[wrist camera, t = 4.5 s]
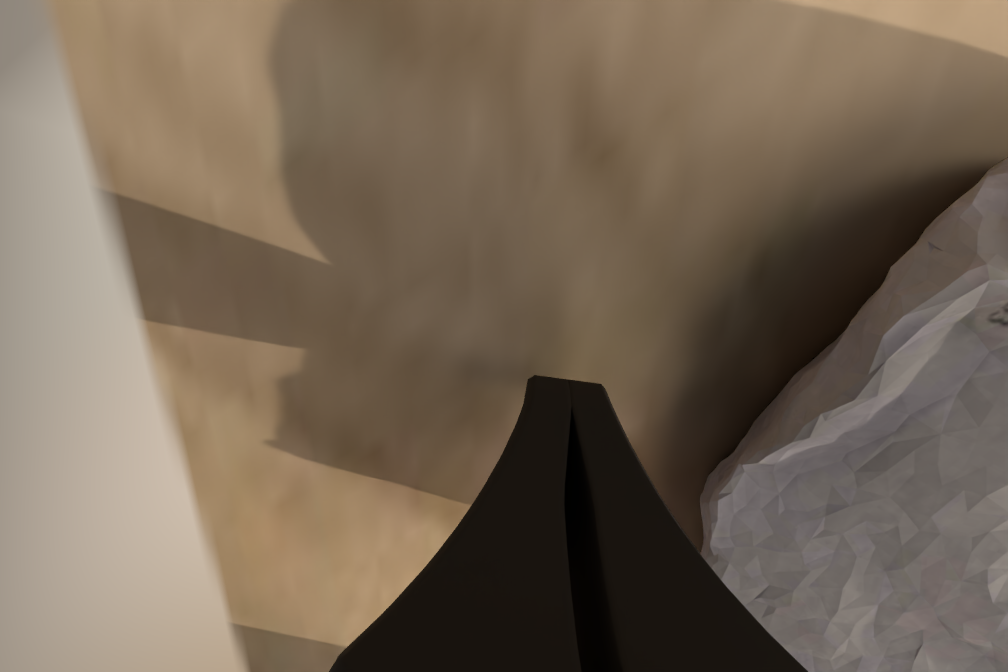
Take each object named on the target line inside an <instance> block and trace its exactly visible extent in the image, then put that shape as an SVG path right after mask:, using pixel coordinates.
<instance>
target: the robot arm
mask: <svg viewBox="0 0 1008 672" xmlns="http://www.w3.org/2000/svg"><path fill="white" fill-rule="evenodd" d="M329 672H808V671H807V670H806V669H805V668H804V667H803V666H802V665H801V664H800V663H799V662H798V661H797V660H796V659H795V658H794V657H793V656H792V655H791V654H790V653H789V652H788V651H787V650H786V649H785V648H784V647H783V646H782V645H781V644H780V643H779V642H778V641H777V640H776V639H774V638H773V637H772V636H771V635H770V634H769V633H768V632H767V630H766V629H765V628H764V627H763V626H762V625H761V624H760V623H759V622H758V621H757V620H756V619H755V617H754V616H753V615H752V614H751V613H750V612H749V611H748V610H747V609H746V607H745V606H744V605H743V604H742V603H741V602H740V601H739V600H738V599H737V598H736V596H735V595H734V594H733V593H732V592H731V591H730V590H729V589H728V588H727V587H726V585H725V584H724V583H723V582H722V580H721V579H720V578H719V577H718V576H717V574H716V573H715V572H714V571H713V569H712V568H711V567H710V566H709V564H708V563H707V562H706V561H705V559H704V558H703V557H702V555H701V554H700V553H699V551H698V550H697V549H696V547H695V546H694V545H693V543H692V542H691V541H690V539H689V538H688V537H687V535H686V534H685V532H684V531H683V530H682V528H681V527H680V525H679V524H678V522H677V521H676V519H675V518H674V516H673V515H672V513H671V512H670V510H669V509H668V507H667V506H666V504H665V503H664V501H663V499H662V498H661V496H660V495H659V493H658V492H657V490H656V488H655V487H654V485H653V483H652V482H651V480H650V478H649V476H648V475H647V473H646V471H645V469H644V467H643V466H642V464H641V462H640V460H639V459H638V457H637V455H636V453H635V451H634V449H633V448H632V446H631V444H630V442H629V440H628V438H627V436H626V434H625V432H624V430H623V428H622V426H621V424H620V422H619V419H618V417H617V415H616V413H615V411H614V408H613V406H612V404H611V401H610V399H609V397H608V394H607V392H606V390H605V388H604V387H603V386H602V384H597V383H590V382H582V381H575V380H567V379H560V378H552V377H545V376H537V375H534V376H533V377H531V378H529V379H528V381H527V387H526V393H525V398H524V404H523V407H522V410H521V413H520V415H519V418H518V420H517V423H516V425H515V428H514V430H513V432H512V434H511V436H510V438H509V441H508V443H507V445H506V447H505V449H504V451H503V453H502V455H501V457H500V459H499V461H498V462H497V464H496V466H495V468H494V469H493V471H492V473H491V475H490V476H489V478H488V480H487V482H486V484H485V485H484V487H483V489H482V490H481V492H480V493H479V495H478V496H477V498H476V500H475V501H474V503H473V504H472V506H471V507H470V509H469V510H468V512H467V513H466V514H465V516H464V517H463V519H462V520H461V522H460V523H459V524H458V526H457V527H456V529H455V530H454V531H453V532H452V534H451V535H450V536H449V538H448V539H447V540H446V542H445V543H444V544H443V546H442V547H441V548H440V549H439V551H438V552H437V553H436V554H435V556H434V557H433V558H432V559H431V561H430V562H429V563H428V564H427V565H426V567H425V568H424V569H423V570H422V571H421V572H420V573H419V575H418V576H417V577H416V578H415V579H414V580H413V581H412V582H411V583H410V584H409V586H408V587H407V588H406V589H405V590H404V591H403V592H402V593H401V594H400V595H399V597H398V598H397V599H396V600H395V601H394V602H393V603H392V604H391V605H390V606H389V607H388V608H387V609H386V610H385V611H384V612H383V614H382V615H381V616H379V617H378V618H377V619H376V620H375V621H374V622H373V623H372V624H371V625H370V626H369V627H368V628H367V629H366V630H365V631H364V632H363V633H362V634H361V635H360V636H358V637H357V638H356V639H355V640H354V641H353V642H352V643H351V644H350V645H349V646H348V647H347V648H346V649H345V650H344V651H343V652H342V653H341V654H340V655H339V656H338V658H337V660H336V661H335V663H334V664H333V666H332V668H331V669H330V671H329Z"/></svg>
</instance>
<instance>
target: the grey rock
mask: <svg viewBox="0 0 1008 672" xmlns="http://www.w3.org/2000/svg"><path fill="white" fill-rule="evenodd" d="M700 508H701V516H702V522H703V534H704V537H703V546H702V551H701V555H702V557H703V558H704V559H705V561H706V562H707V563H708V564H709V566H710V567H711V568H712V569H713V571H714V572H715V573H716V574H717V576H718V577H719V578H720V579H721V580H722V582H723V583H724V584H725V585H726V587H727V588H728V589H729V590H730V591H731V592H732V593H733V594H734V595H735V596H736V598H737V599H738V600H739V601H740V602H741V603H742V604H743V605H744V606H745V607H746V609H747V610H748V611H749V612H750V613H751V614H752V615H753V616H754V617H755V619H756V620H757V621H758V622H759V623H760V624H761V625H762V626H763V627H764V628H765V629H766V630H767V632H768V633H769V634H770V635H771V636H772V637H773V638H774V639H776V640H777V641H778V642H779V643H780V644H781V645H782V646H783V647H784V648H785V649H786V650H787V651H788V652H789V653H790V654H791V655H792V656H793V657H794V658H795V659H796V660H797V661H798V662H799V663H800V664H801V665H802V666H803V667H804V668H805V669H806V670H807V671H808V672H1008V157H1007V158H1006V159H1004V160H1002V161H1001V162H999V163H998V164H996V165H995V166H993V167H992V168H990V169H989V170H988V171H987V172H986V174H985V175H984V176H983V177H982V179H981V180H980V181H979V182H978V183H977V184H976V185H975V186H974V187H973V188H972V189H970V190H969V191H968V192H966V193H965V194H964V195H963V196H961V197H960V198H959V199H957V200H956V201H955V202H954V203H953V204H952V205H950V206H949V207H948V208H947V209H946V210H945V211H944V212H942V213H941V214H940V215H939V216H938V217H937V218H936V219H935V220H934V221H933V222H932V223H931V224H930V225H929V226H928V227H927V228H926V229H925V231H924V232H923V234H922V235H921V237H920V238H919V240H918V241H917V242H916V244H915V245H914V246H913V247H912V248H911V249H910V250H909V251H907V252H906V253H905V254H904V255H903V256H902V257H901V258H900V259H899V260H898V261H897V262H896V263H895V264H894V265H892V266H891V268H890V270H889V272H888V274H887V276H886V278H885V281H884V282H883V284H882V285H881V287H880V288H879V289H878V290H877V291H876V292H875V293H874V294H873V295H872V296H871V297H870V298H869V299H868V300H867V302H866V303H865V304H864V305H863V306H862V307H861V309H860V310H859V311H858V313H857V315H856V316H855V317H854V318H853V319H852V321H851V322H850V324H849V326H848V328H847V329H846V330H845V331H844V332H843V333H842V334H841V335H840V336H839V337H838V338H837V339H836V340H835V341H834V342H833V343H831V344H830V345H828V346H827V347H826V348H825V349H824V350H823V351H822V352H821V353H820V354H819V355H818V356H817V357H815V358H814V359H813V360H812V361H811V362H810V363H808V364H807V365H806V366H804V367H803V368H802V369H801V370H799V371H798V372H797V373H796V374H795V375H794V376H793V377H792V379H791V380H790V381H789V382H788V384H787V385H786V386H785V387H784V388H783V390H782V391H781V392H780V393H779V395H778V396H777V397H776V398H775V399H774V400H773V401H772V402H771V403H770V404H769V406H768V407H767V408H766V409H765V410H764V411H763V412H762V413H761V414H760V415H759V417H758V418H757V419H756V420H755V421H754V423H753V425H752V426H751V428H750V429H749V431H748V433H747V434H746V436H745V437H744V438H743V439H742V440H741V442H740V443H739V445H738V446H737V448H736V449H735V451H734V452H733V453H732V454H731V455H730V456H729V457H728V458H726V459H724V460H722V461H721V462H720V463H719V464H718V466H717V467H716V468H715V469H714V471H712V472H711V473H710V474H709V475H708V478H707V481H706V483H705V486H704V491H703V492H702V494H701V495H700Z"/></svg>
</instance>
